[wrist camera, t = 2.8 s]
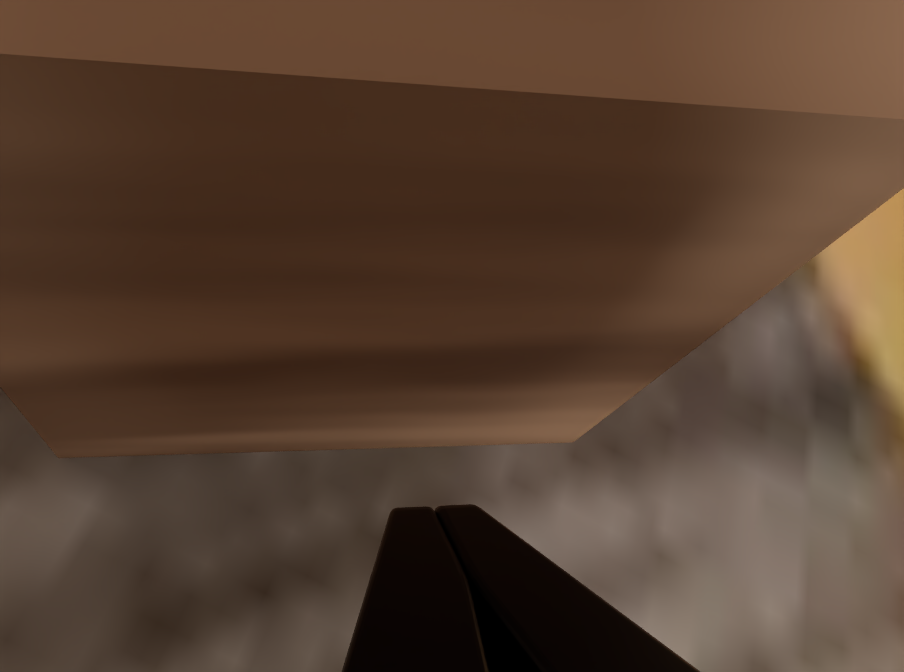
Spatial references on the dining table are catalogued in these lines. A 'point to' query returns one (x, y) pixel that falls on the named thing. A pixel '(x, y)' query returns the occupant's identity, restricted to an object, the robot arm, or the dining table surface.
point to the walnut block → (411, 207)
